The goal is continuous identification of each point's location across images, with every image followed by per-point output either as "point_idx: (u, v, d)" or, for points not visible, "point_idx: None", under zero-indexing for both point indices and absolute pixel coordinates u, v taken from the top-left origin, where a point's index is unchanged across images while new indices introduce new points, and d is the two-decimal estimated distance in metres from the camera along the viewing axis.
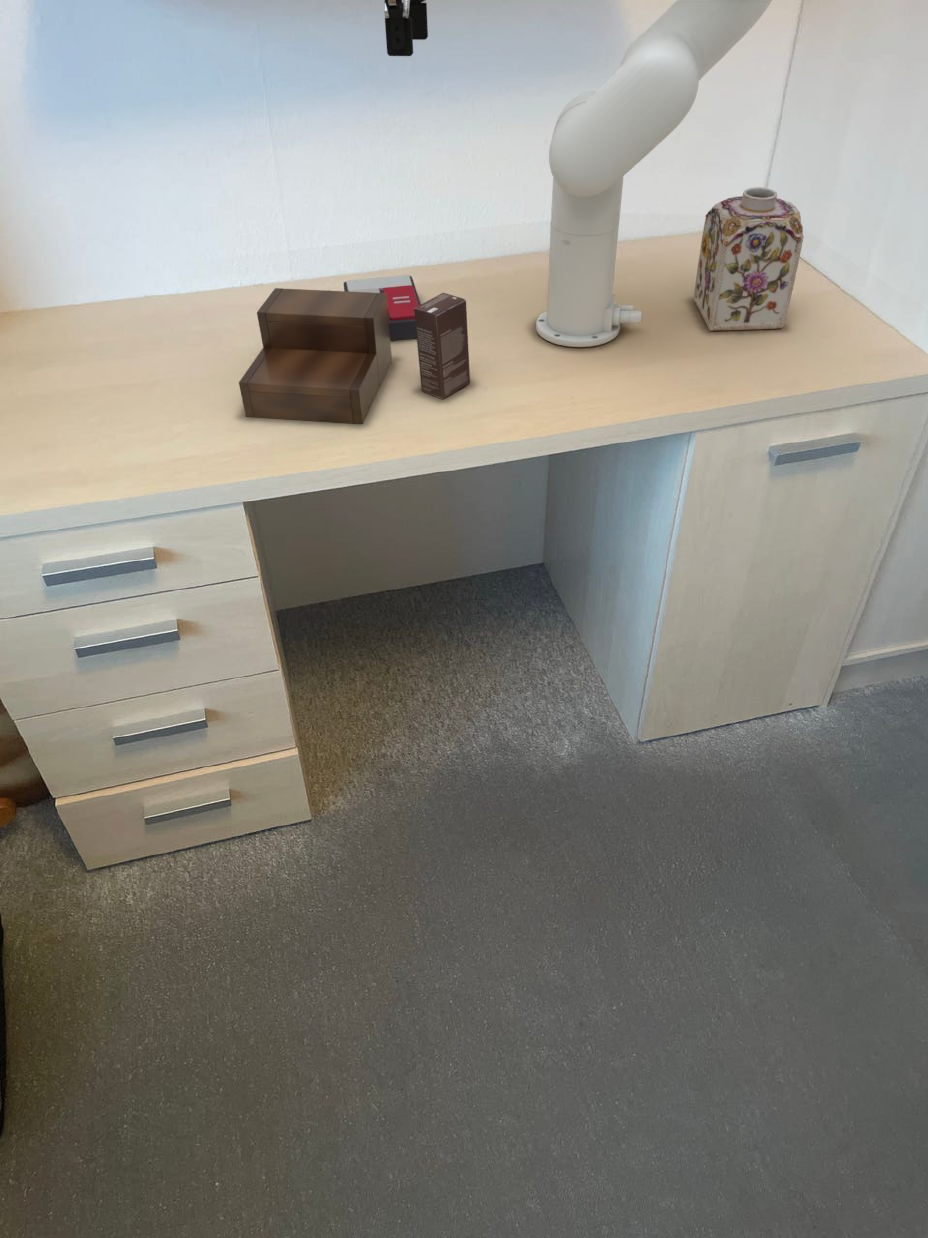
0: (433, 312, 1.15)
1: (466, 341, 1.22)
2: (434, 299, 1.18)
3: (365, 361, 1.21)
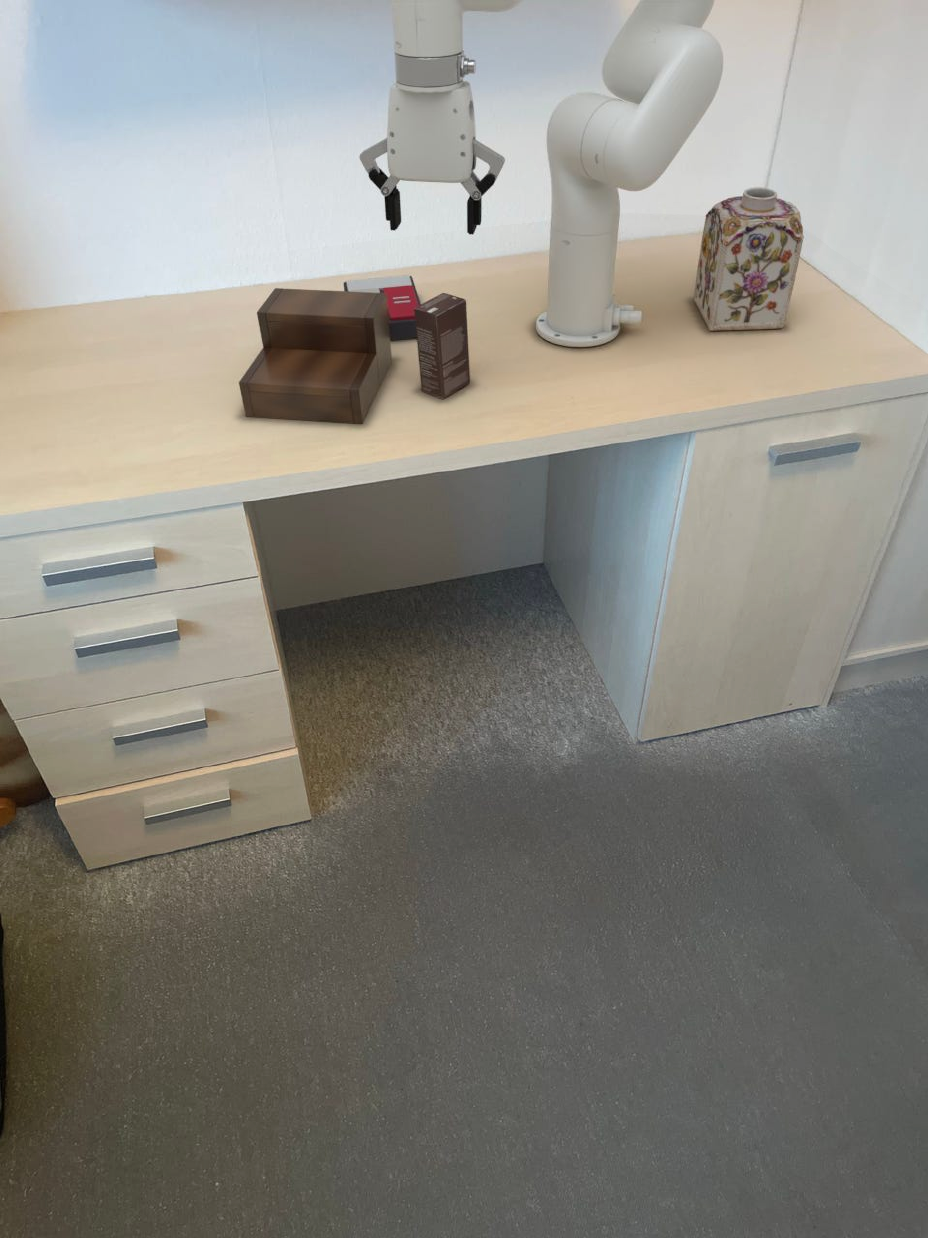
0: (433, 312, 1.15)
1: (466, 341, 1.22)
2: (434, 299, 1.18)
3: (365, 361, 1.21)
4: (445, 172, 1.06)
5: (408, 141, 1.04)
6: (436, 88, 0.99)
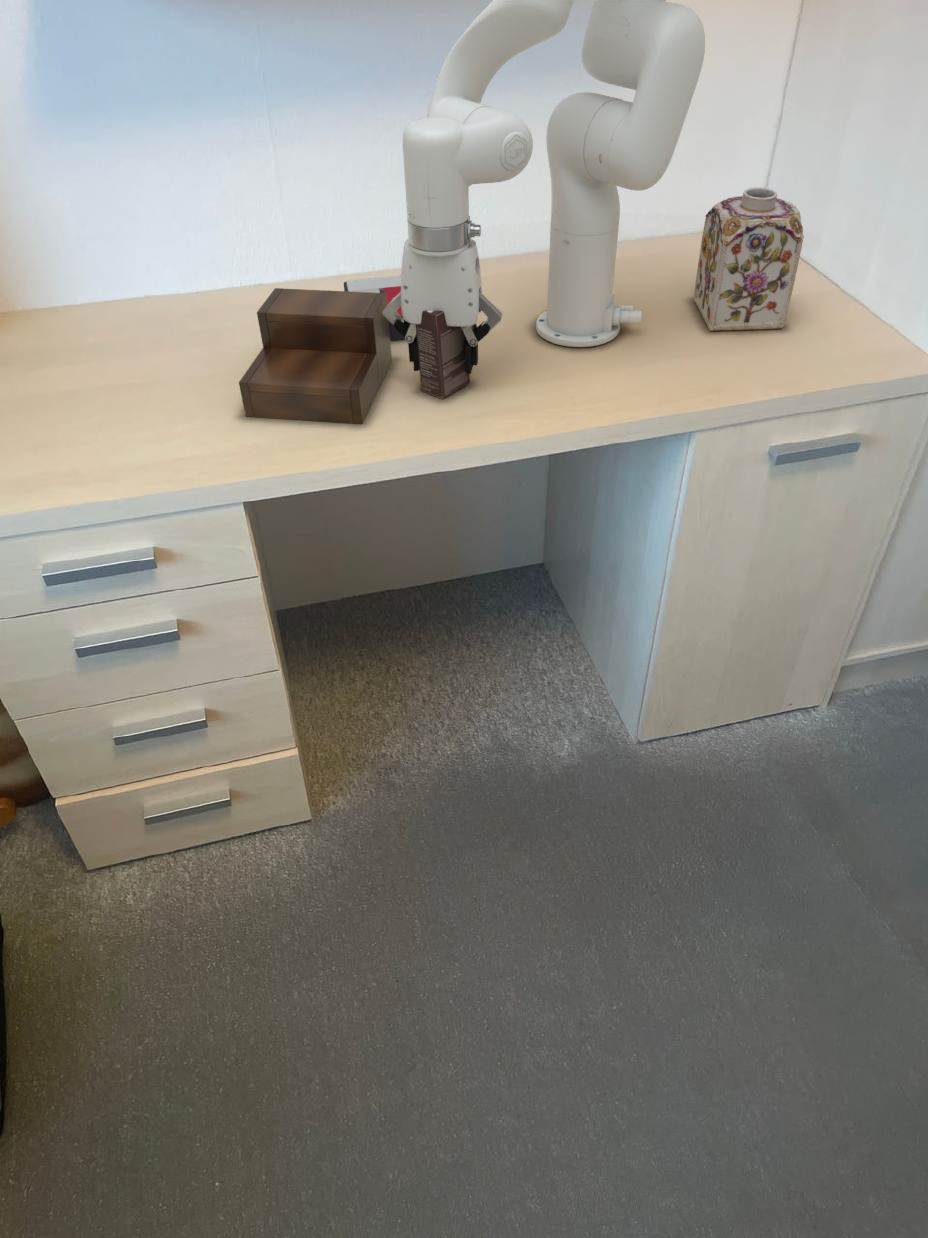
0: (433, 312, 1.15)
1: (466, 341, 1.22)
2: None
3: (365, 361, 1.21)
4: (454, 319, 1.16)
5: (420, 293, 1.14)
6: (446, 252, 1.09)
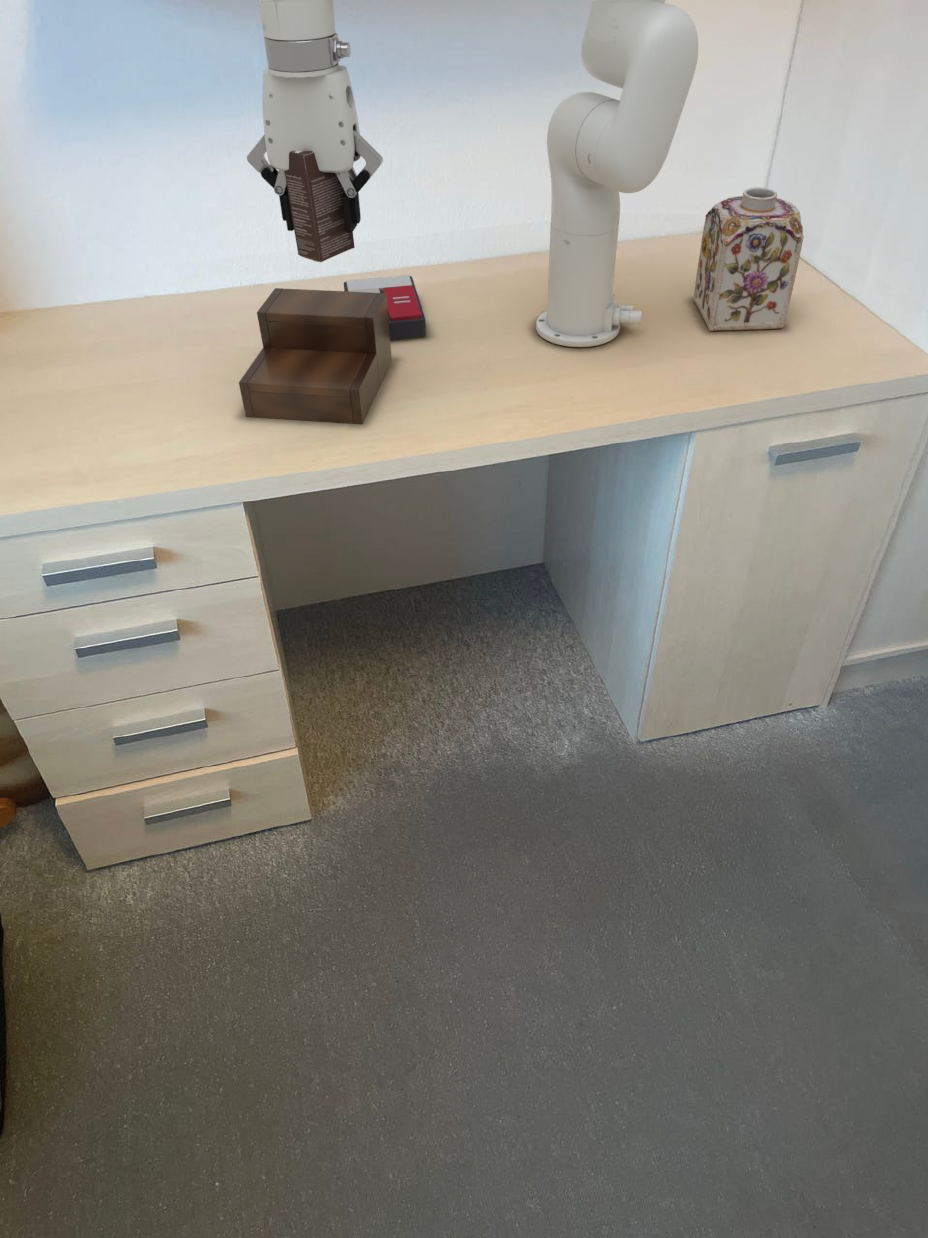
0: (301, 152, 1.00)
1: None
2: None
3: (365, 361, 1.21)
4: (326, 161, 1.01)
5: (285, 129, 0.99)
6: (307, 73, 0.94)
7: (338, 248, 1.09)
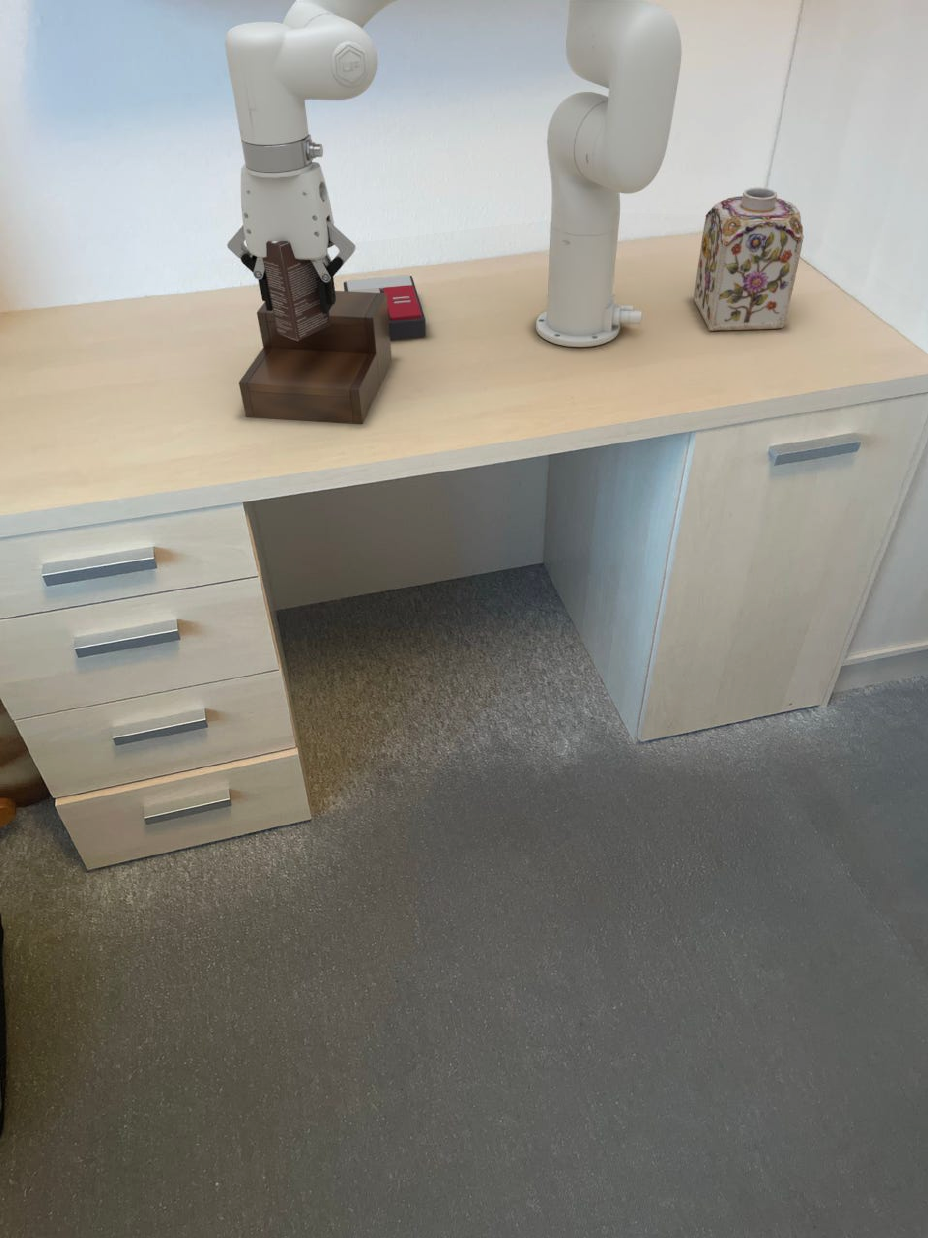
0: (277, 242, 1.06)
1: None
2: None
3: (365, 361, 1.21)
4: (301, 250, 1.07)
5: (262, 222, 1.05)
6: (282, 173, 1.00)
7: (314, 327, 1.15)
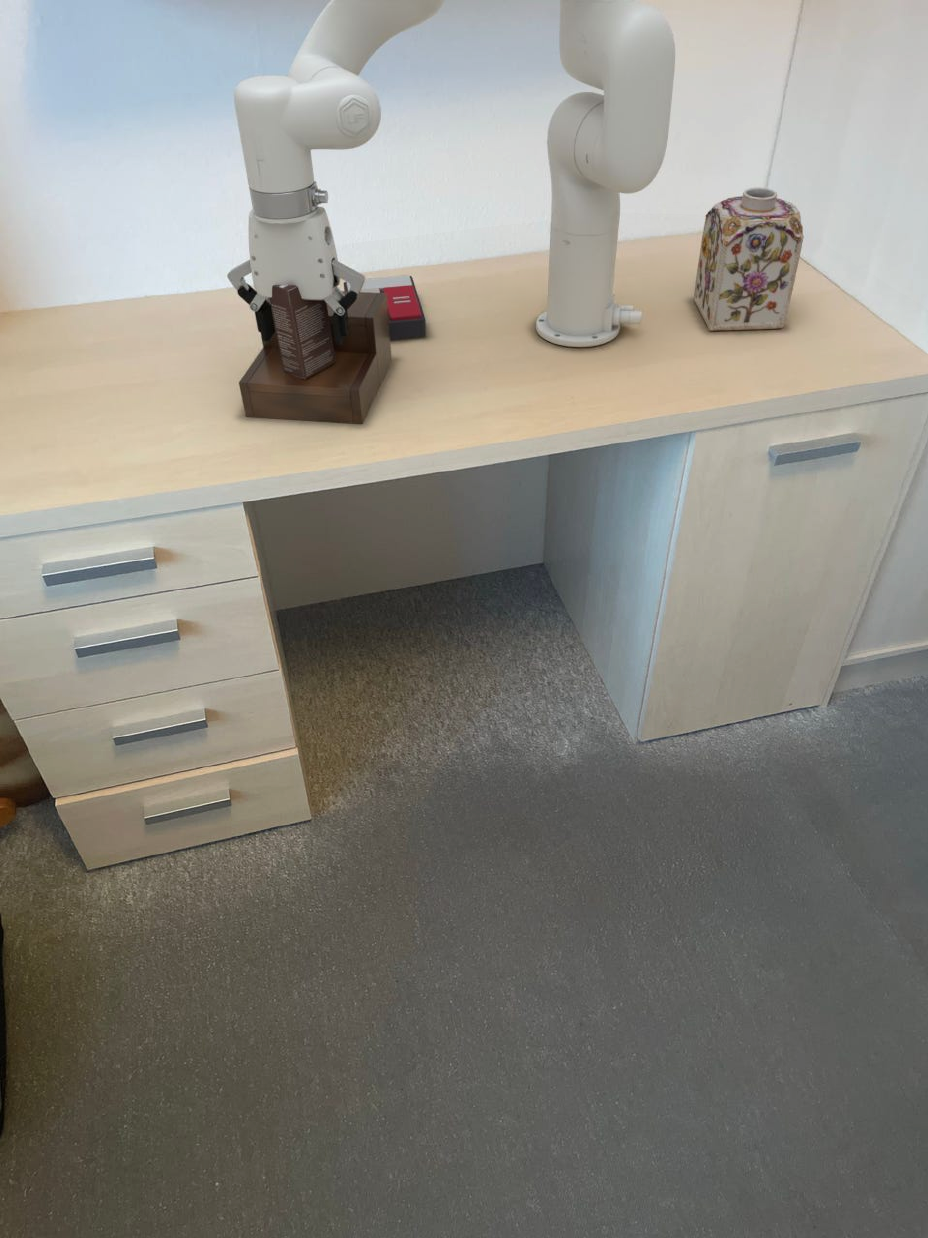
0: (285, 287, 1.10)
1: (327, 319, 1.16)
2: None
3: (365, 361, 1.21)
4: (307, 291, 1.11)
5: (269, 264, 1.09)
6: (289, 220, 1.04)
7: (320, 365, 1.18)
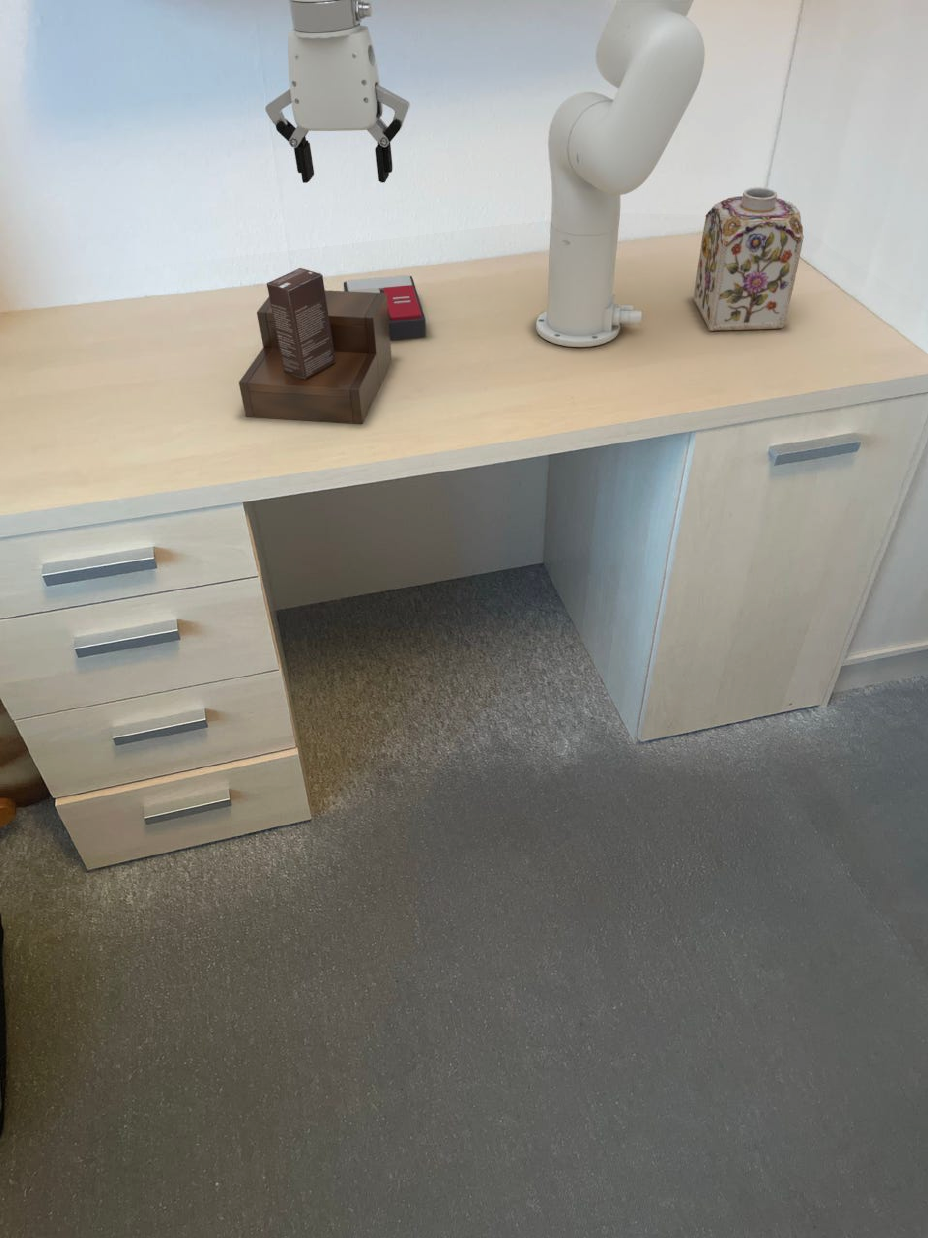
0: (285, 287, 1.10)
1: (327, 319, 1.16)
2: (289, 274, 1.13)
3: (365, 361, 1.21)
4: (350, 119, 1.06)
5: (310, 89, 1.04)
6: (332, 33, 0.99)
7: (320, 365, 1.18)
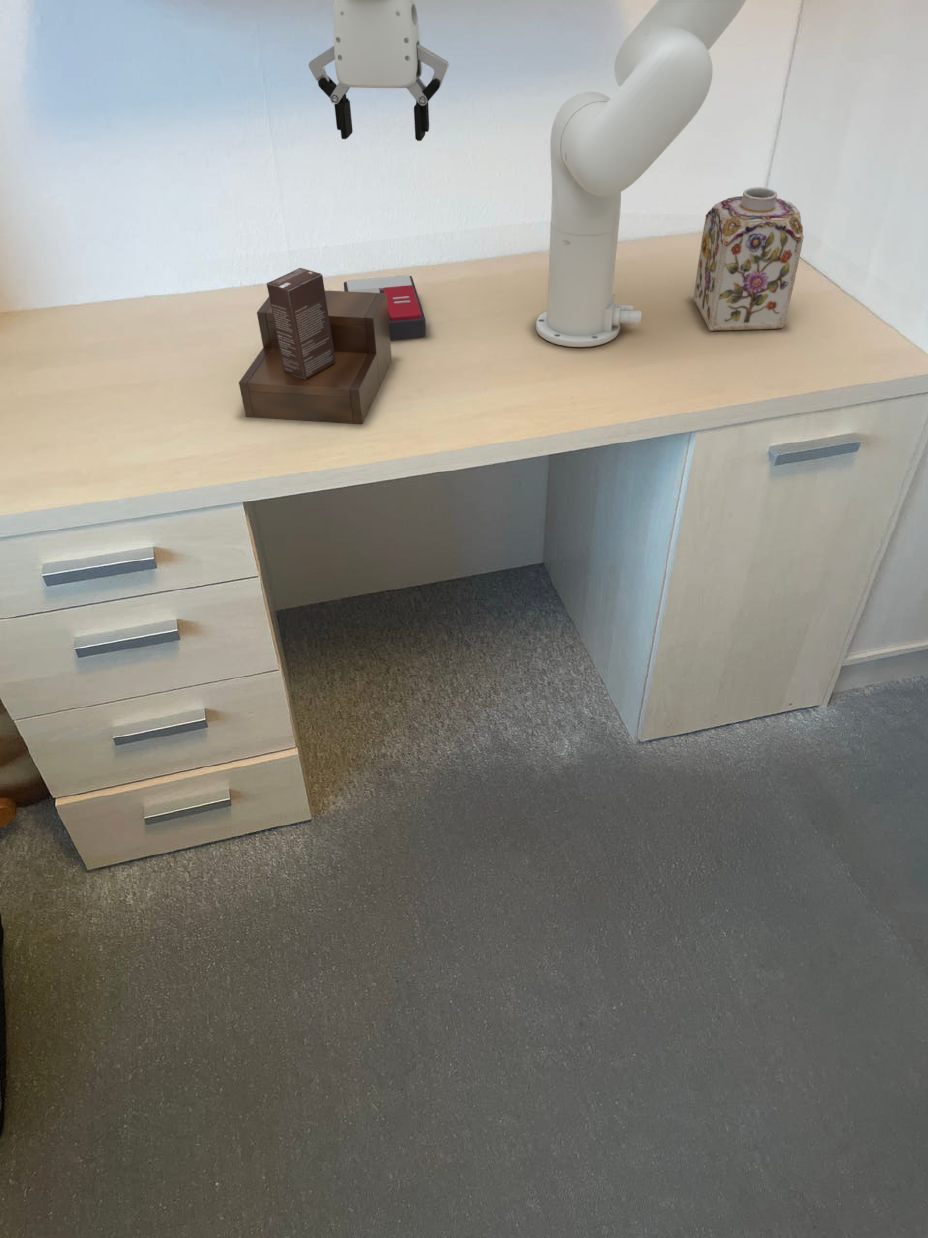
0: (285, 287, 1.10)
1: (327, 319, 1.16)
2: (289, 274, 1.13)
3: (365, 361, 1.21)
4: (391, 77, 1.09)
5: (354, 46, 1.08)
6: None
7: (320, 365, 1.18)
